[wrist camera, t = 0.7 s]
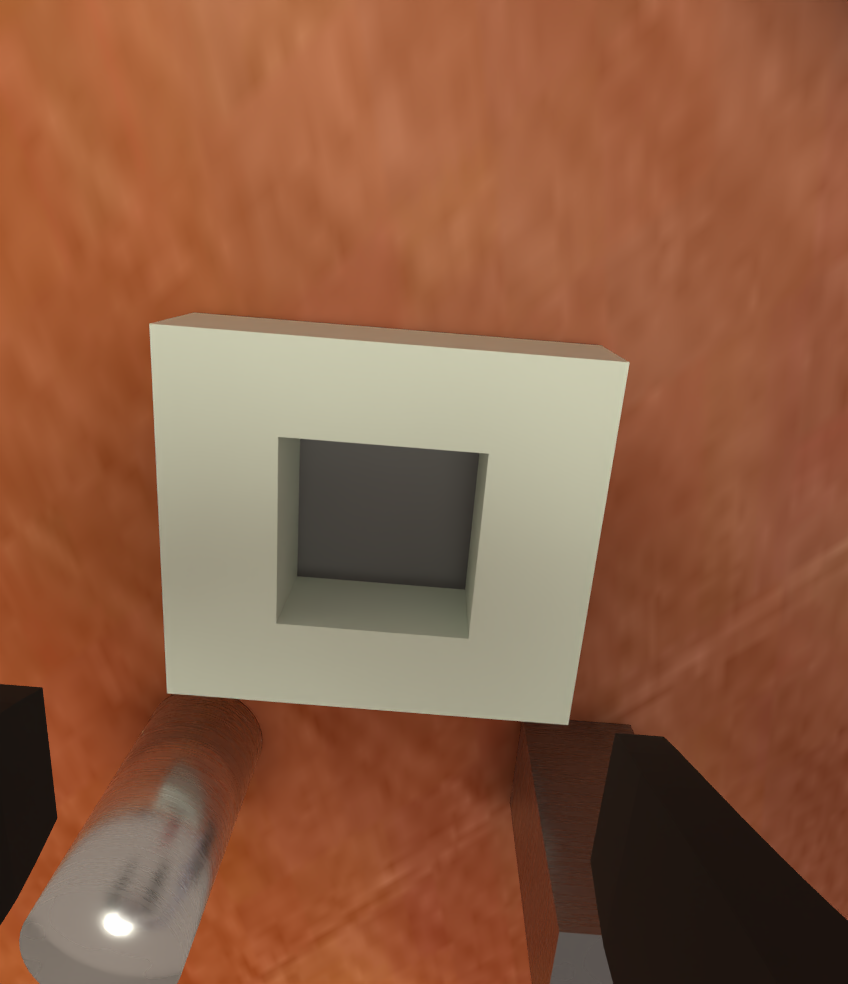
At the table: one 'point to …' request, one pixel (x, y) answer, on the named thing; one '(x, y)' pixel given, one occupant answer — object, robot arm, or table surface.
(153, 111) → the table surface
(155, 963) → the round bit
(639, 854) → the robot arm
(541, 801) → the square bit
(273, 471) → the bore block
